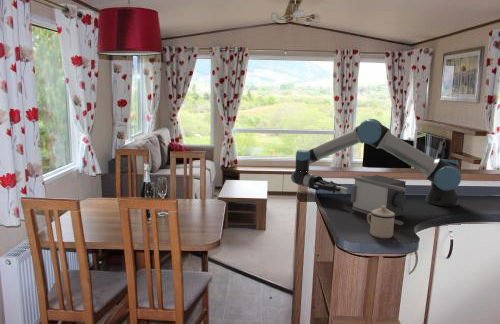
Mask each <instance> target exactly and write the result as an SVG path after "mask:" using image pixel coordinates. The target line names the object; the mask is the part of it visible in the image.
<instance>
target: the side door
mask: <svg viewBox="0 0 500 324" xmlns="http://www.w3.org/2000/svg"><path fill="white" fill-rule="evenodd" d="M387 194H388V188H387V187H383V186H379V185H375V184H371V183H367V182H363V181H359V180H355V179H354V184H353V185H351V190H350V203H352V207H357V208H360V209H363V210H366V211H369V212H371V211H372V210H375V209H378V208H381V206H387Z"/></svg>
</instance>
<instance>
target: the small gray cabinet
mask: <svg viewBox="0 0 500 324" xmlns="http://www.w3.org/2000/svg"><path fill="white" fill-rule="evenodd" d="M366 176H367V177H362V176H354V181H355V180H359V181H363V182H367V183H371V184H375V185H379V186H383V187H387V188H388V194H387V206H386V209H388V210H390V211H392V212H394V213H395V217H401V216H404V214H403V212H404V206H405V204H406V200H407V197H406V194H405V192H407V188H406V181H405V180H402V179H401V180H400V179H396V178H393V177H388V176H383V175H379V174H376V175H375V174H374V175H366ZM351 208H352V210H353V211H356V212H358V213H362V214H365V215H368V214H369V213H371V212H369V211H366V210H363V209H360V208H357V207H354V206H352V207H351ZM395 217H394V225H398V226H402V225H404V221H401V220H398V219H395Z"/></svg>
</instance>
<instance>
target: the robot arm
mask: <svg viewBox="0 0 500 324" xmlns="http://www.w3.org/2000/svg"><path fill="white" fill-rule="evenodd" d="M358 144H367V145H369V146H372V147H374V148H375V149H382V150H384V151H385V152H386V153H389V154H391V155H392V156H394V157H396V158H398V159H399V160H401V161H402V162H403V163H406V164H408V166H410V167H412V168H414V169H416V170H417V171H419V172H421V173H422V174H423V175H424V178H425V179H426V180H427V181H429V182H431V183H430V188H429V190H428V192H427V194H426V197H425V202H426V203H428V204H431V205H435V206H439V207H457V206H458V205H459V199H458V195H457V188H458V186H459V185H460V184H461V180H462V174H461V172H460V170H459V165H460V164H459V161H458V160H457V159H456V160H455V159H444V158H443V159H442V158H434V157H432V156H430V155H428V154H427V153H425V152H423V151H422V150H420V149H418V148H416V147H414V146H413V145H411V144H410V143H408V142H406V141H405V140H403V139H401V138H399V137H397V136H396V135H394V134H392V133H391V129H390V128H388V127H387V126H385V125H383V124H382V123H381V122H380V121H379V120H378V119H375V118H369V119H365V120H363V121H362V122H361V123H360V124H359V125H357V126H356V127H354V129H353V130H351V131H348V132H346V133H344V134H342V135H340V136H338V137H335V138H333V139H331V140H329V141H326V142H324V143H322V144H320V145H318V146H315V147H313V148H311V149H309V150H307V149H299V150H296V152H295V170H293V171H292V172H291V173H292V174H291V176H290V178H291V182H292V183H294V184H296V185H298V186H303V187H306V188H308V189H312V190H315V191H319V190H323V191H328V192H332V193H336V192H337V193H340V194H344V195H347V194H349V193H348V190H349V189H348V187H345V186H341V184H340V183H337V182H334V181H332V180H331V181H327V180H325V179H324V178H323V177H322V176H320V175H316V174H312V173H310V165H312V164H314V163H315V162H318V161H320V160H322V159H324V158H325V159H326V158H327V157H329V156H331V155H333V154H336V153H339V152H340V151H343V150H346V149H348V148H350V147H353V146H355V145H358ZM300 171H301V172H300ZM306 171H307V172H306ZM308 171H309V173H308Z"/></svg>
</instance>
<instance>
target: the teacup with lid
mask: <svg viewBox="0 0 500 324" xmlns="http://www.w3.org/2000/svg"><path fill="white" fill-rule="evenodd" d="M394 219H395V213H394V212H392V211H390V210H388V209H386V206H381V208H378V209H375V210H372V211H371V213H369V214H366V220H367V223H368V225H370V228H369V234H370V235H371V236H373V237H376V238H380V239H390V238H393V236H394V226H395V223H394Z"/></svg>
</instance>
